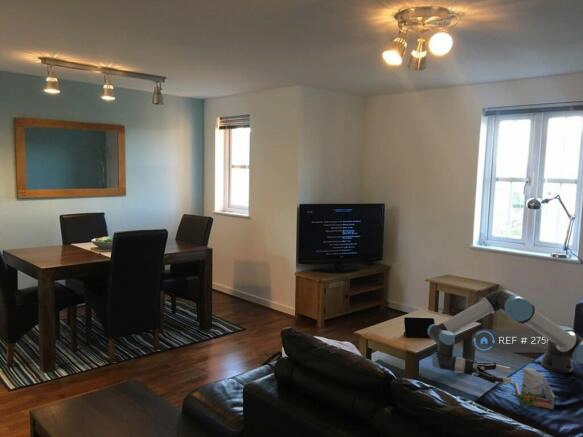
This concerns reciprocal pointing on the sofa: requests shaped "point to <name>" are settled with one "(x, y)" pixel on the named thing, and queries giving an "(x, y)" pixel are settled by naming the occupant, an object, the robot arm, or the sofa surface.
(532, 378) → the ink box
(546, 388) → the trap channel
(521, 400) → the figurine
